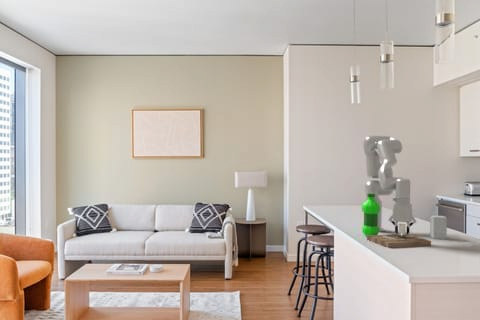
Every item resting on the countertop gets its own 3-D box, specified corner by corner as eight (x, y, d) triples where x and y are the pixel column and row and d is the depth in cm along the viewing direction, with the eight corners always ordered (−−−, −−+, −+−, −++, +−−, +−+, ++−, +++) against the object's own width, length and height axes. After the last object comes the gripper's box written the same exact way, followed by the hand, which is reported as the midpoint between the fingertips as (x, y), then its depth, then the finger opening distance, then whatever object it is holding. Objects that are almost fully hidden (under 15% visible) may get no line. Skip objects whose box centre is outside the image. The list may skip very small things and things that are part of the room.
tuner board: (366, 239, 231) (366, 234, 231) (406, 238, 238) (406, 233, 237) (388, 247, 212) (388, 242, 212) (431, 245, 218) (431, 240, 218)
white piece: (398, 239, 219) (398, 226, 219) (399, 235, 231) (399, 223, 231) (404, 240, 218) (404, 227, 218) (405, 235, 230) (405, 223, 230)
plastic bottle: (371, 234, 248) (372, 192, 248) (383, 237, 238) (384, 194, 238) (357, 234, 245) (358, 193, 245) (369, 238, 235) (369, 194, 235)
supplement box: (446, 239, 235) (447, 217, 235) (432, 238, 237) (433, 216, 236) (443, 237, 242) (443, 215, 242) (429, 236, 244) (430, 215, 244)
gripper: (386, 200, 227) (385, 233, 227) (419, 202, 220) (418, 236, 221) (387, 199, 234) (386, 231, 234) (419, 201, 227) (418, 233, 227)
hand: (402, 233), depth 227 cm, fingers open, 4 cm apart
